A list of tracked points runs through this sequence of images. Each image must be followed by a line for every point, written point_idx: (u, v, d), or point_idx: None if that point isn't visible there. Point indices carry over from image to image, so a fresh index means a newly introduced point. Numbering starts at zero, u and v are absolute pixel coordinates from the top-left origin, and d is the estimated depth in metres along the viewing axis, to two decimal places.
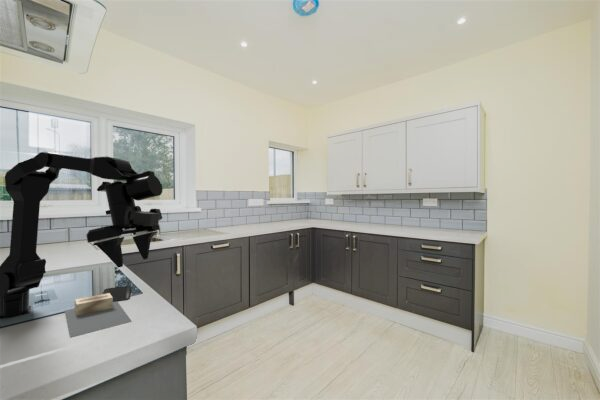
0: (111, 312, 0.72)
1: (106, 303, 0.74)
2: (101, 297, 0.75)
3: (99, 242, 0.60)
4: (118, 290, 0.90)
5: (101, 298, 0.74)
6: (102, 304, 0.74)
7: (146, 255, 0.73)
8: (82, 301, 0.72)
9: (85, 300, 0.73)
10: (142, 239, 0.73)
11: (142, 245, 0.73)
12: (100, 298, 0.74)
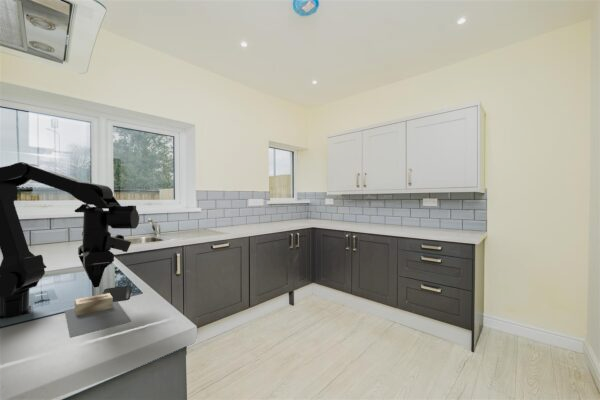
0: (111, 312, 0.72)
1: (106, 303, 0.74)
2: (101, 297, 0.75)
3: (94, 264, 0.68)
4: (118, 290, 0.90)
5: (101, 298, 0.74)
6: (102, 304, 0.74)
7: None
8: (82, 301, 0.72)
9: (85, 300, 0.73)
10: None
11: None
12: (100, 298, 0.74)
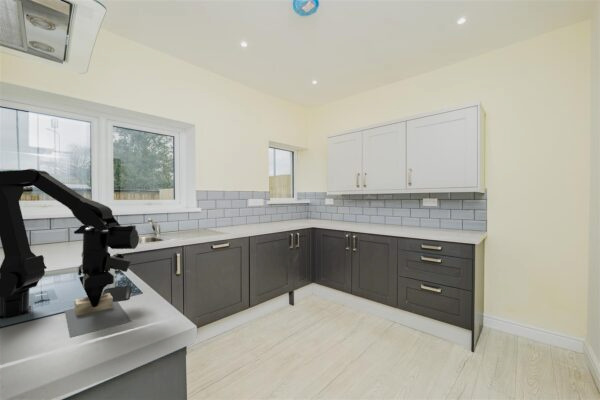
0: (111, 312, 0.72)
1: (106, 303, 0.74)
2: (101, 297, 0.75)
3: None
4: (118, 290, 0.90)
5: (101, 298, 0.74)
6: (102, 304, 0.74)
7: None
8: (82, 301, 0.72)
9: (85, 300, 0.73)
10: None
11: None
12: (100, 298, 0.74)
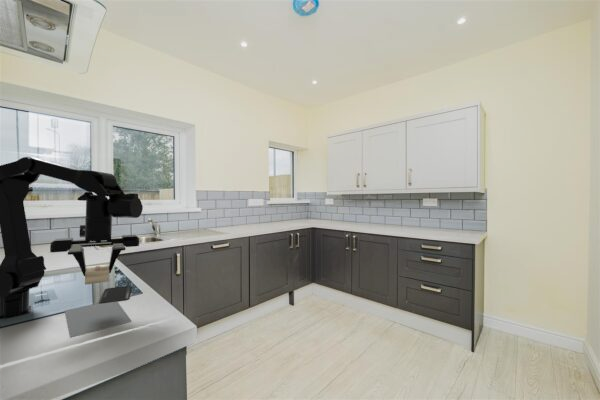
0: (111, 312, 0.72)
1: None
2: (100, 266, 0.73)
3: (124, 247, 0.74)
4: (118, 290, 0.90)
5: (105, 266, 0.74)
6: None
7: None
8: (101, 270, 0.70)
9: (100, 269, 0.70)
10: (83, 255, 0.70)
11: (84, 261, 0.70)
12: (103, 266, 0.73)
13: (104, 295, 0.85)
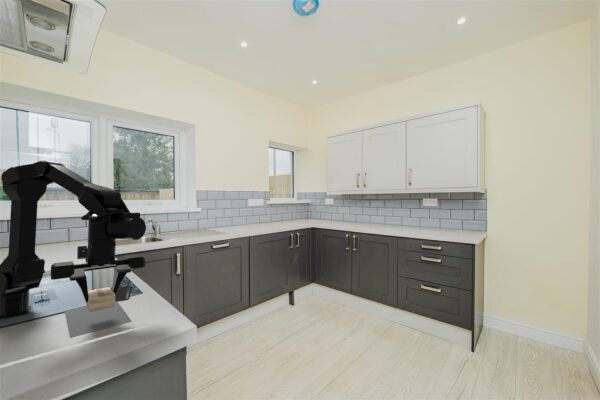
0: (111, 312, 0.72)
1: None
2: (102, 290, 0.68)
3: None
4: (118, 290, 0.90)
5: (107, 289, 0.69)
6: None
7: None
8: (106, 294, 0.65)
9: (104, 294, 0.66)
10: None
11: None
12: (105, 290, 0.68)
13: None
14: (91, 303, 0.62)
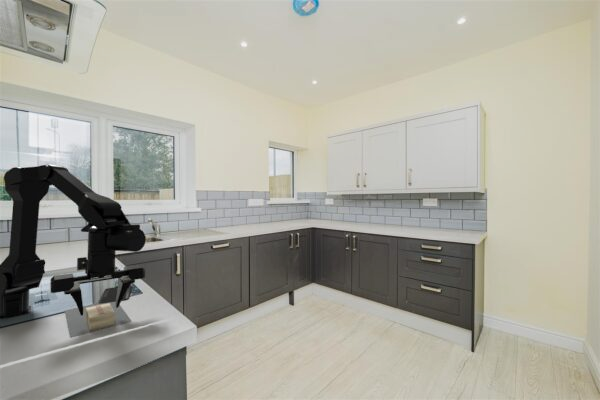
0: None
1: None
2: (102, 307, 0.68)
3: None
4: None
5: (107, 306, 0.69)
6: None
7: None
8: (105, 312, 0.65)
9: (104, 311, 0.66)
10: None
11: None
12: (105, 307, 0.68)
13: (104, 295, 0.85)
14: (90, 321, 0.62)
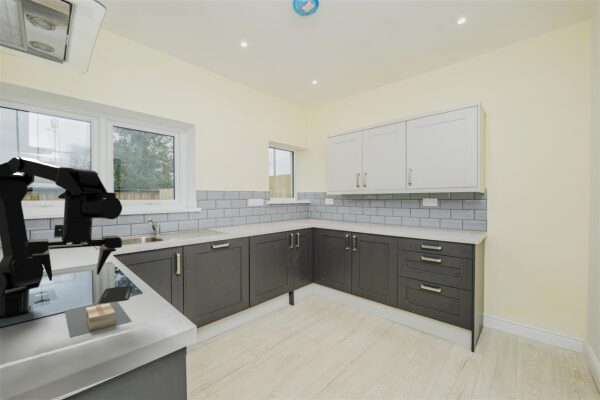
0: None
1: None
2: (102, 307, 0.68)
3: None
4: (118, 290, 0.90)
5: (107, 306, 0.69)
6: None
7: None
8: (105, 312, 0.65)
9: (104, 311, 0.66)
10: None
11: None
12: (105, 307, 0.68)
13: (104, 295, 0.85)
14: (90, 321, 0.62)
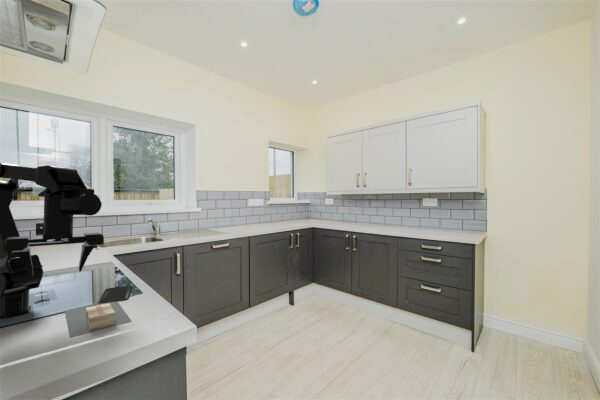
0: None
1: None
2: (102, 307, 0.68)
3: (96, 245, 0.73)
4: (119, 290, 0.90)
5: (107, 306, 0.69)
6: None
7: None
8: (105, 312, 0.65)
9: (104, 311, 0.66)
10: (30, 255, 0.65)
11: (31, 261, 0.65)
12: (105, 307, 0.68)
13: (104, 295, 0.85)
14: (90, 321, 0.62)
